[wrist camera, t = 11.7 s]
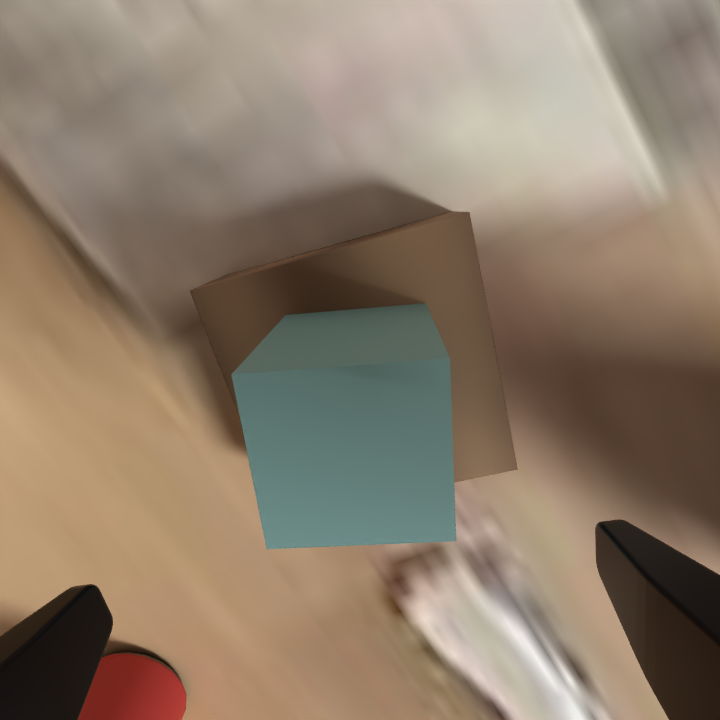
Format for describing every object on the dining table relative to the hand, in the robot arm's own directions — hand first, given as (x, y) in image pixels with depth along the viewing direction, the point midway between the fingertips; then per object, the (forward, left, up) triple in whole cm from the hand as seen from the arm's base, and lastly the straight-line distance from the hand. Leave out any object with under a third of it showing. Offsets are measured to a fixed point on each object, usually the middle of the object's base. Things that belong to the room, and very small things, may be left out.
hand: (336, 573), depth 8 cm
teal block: (0, 0, -9) cm, 9 cm away
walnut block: (0, 0, -13) cm, 13 cm away
